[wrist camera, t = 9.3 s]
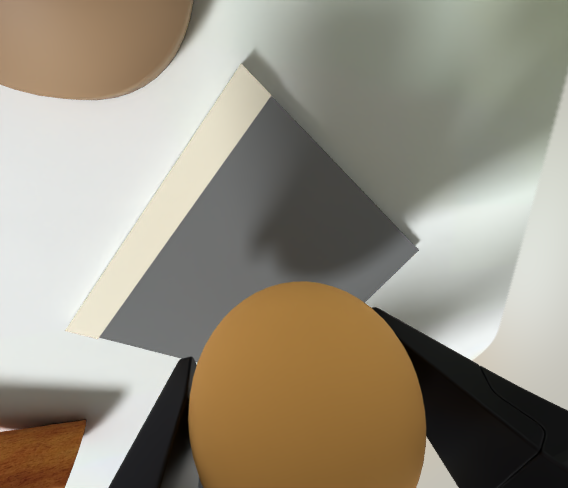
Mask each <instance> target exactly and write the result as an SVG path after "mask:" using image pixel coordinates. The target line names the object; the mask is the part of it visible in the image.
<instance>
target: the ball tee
mask: <svg viewBox="0 0 568 488" xmlns="http://www.w3.org/2000/svg"><path fill="white" fill-rule="evenodd" d="M193 1H194V0H0V84H1V85H4V86H6V87H9V88H12V89H15V90H19V91H23V92H27V93H31V94H35V95H40V96H48V97H55V98H63V99H76V100H101V99H109V98H116V97H119V96H122V95H126V94H129V93H132V92H134V91H136V90H138V89H140V88H142V87H144V86H145V85H147V84H148V83H150V82H151V81H152V80H154V79H155V78H157V77H158V76H159V75H160V74H161V72H162V71H163V70H164V69H165V68H166V67H167V66H168V65H169V63H170V62H171V61H172V59H173V58H174V56H175V55H176V53H177V52H178V49H179V47H180V45H181V43H182V41H183V39H184V37H185V34H186V31H187V28H188V25H189V21H190V17H191V12H192V7H193Z"/></svg>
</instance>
